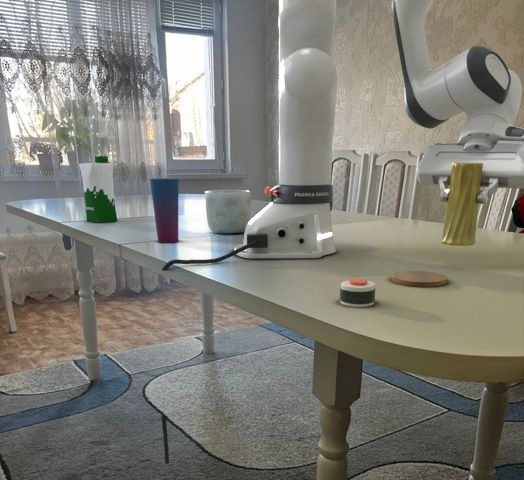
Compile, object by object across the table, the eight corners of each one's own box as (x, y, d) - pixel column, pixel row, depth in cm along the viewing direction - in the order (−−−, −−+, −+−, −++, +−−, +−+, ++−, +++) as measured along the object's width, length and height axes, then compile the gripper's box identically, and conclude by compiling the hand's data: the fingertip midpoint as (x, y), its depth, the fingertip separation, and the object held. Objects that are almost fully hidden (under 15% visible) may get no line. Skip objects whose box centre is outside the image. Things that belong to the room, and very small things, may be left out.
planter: (219, 228, 158) (217, 189, 154) (258, 230, 153) (257, 190, 150) (198, 234, 147) (196, 192, 143) (239, 236, 143) (238, 193, 139)
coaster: (405, 288, 87) (405, 283, 87) (383, 276, 95) (383, 272, 95) (456, 285, 88) (457, 280, 88) (430, 274, 97) (431, 269, 96)
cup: (187, 240, 136) (184, 178, 131) (169, 244, 131) (165, 179, 126) (167, 238, 140) (163, 177, 135) (148, 242, 134) (143, 178, 129)
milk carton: (121, 220, 178) (115, 156, 171) (97, 223, 171) (90, 156, 164) (105, 219, 183) (99, 156, 176) (82, 221, 176) (74, 156, 170)
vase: (435, 241, 104) (444, 162, 99) (465, 240, 105) (476, 162, 100) (449, 246, 98) (459, 163, 94) (481, 245, 99) (492, 163, 94)
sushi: (346, 308, 76) (347, 285, 75) (335, 299, 80) (335, 277, 79) (379, 306, 77) (381, 283, 76) (366, 297, 81) (368, 276, 80)
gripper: (425, 131, 106) (403, 186, 101) (541, 130, 95) (522, 190, 91) (429, 156, 111) (409, 209, 106) (539, 156, 100) (522, 215, 96)
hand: (462, 200), depth 98 cm, fingers closed on vase, 5 cm apart
